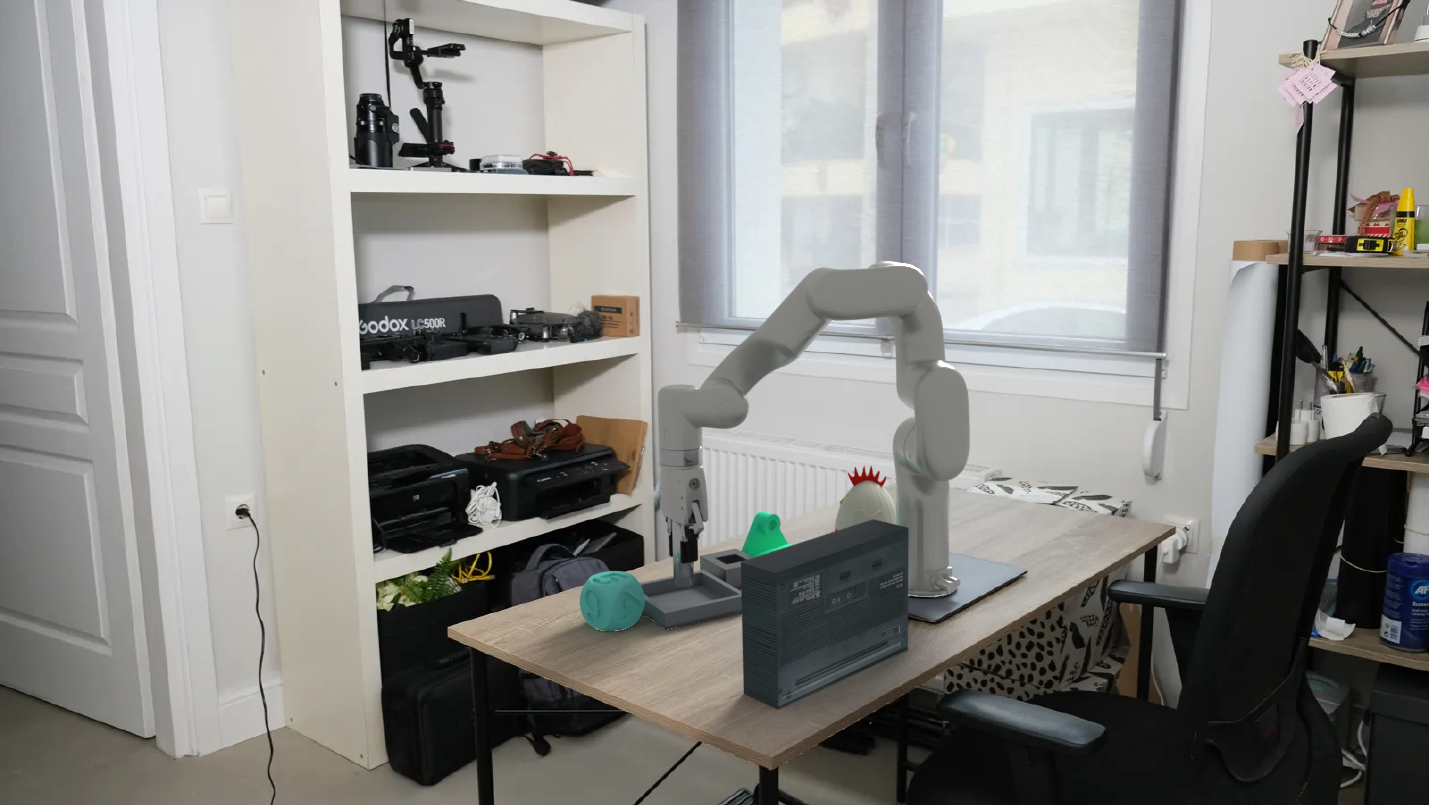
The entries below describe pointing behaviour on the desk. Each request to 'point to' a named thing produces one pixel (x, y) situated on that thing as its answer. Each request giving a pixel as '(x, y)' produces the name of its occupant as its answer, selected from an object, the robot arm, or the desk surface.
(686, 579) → the pin
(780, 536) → the green mounting bracket
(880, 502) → the kitchen timer
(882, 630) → the cassette player
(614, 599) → the decorative dice
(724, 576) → the block
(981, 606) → the desk surface
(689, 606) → the tray
